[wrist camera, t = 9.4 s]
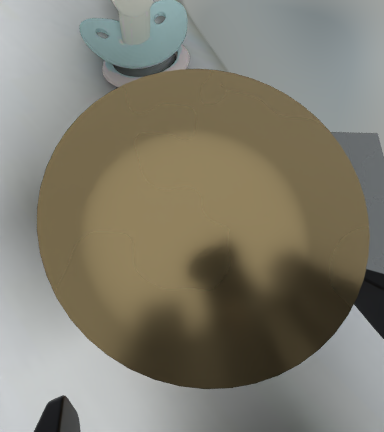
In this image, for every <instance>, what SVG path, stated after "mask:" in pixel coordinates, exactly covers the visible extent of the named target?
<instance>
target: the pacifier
mask: <svg viewBox="0 0 384 432" xmlns="http://www.w3.org/2000/svg"><path fill="white" fill-rule="evenodd" d="M112 2H113V4H114V6H115V7H116V8H117V10H118V13H119V21H116V20H111V19H104V18H92V19H87V20H84V21H83V22H81V24H80V28H79V29H80V33H81V36H82V38H83V40H84V42H85V43H86V44H87V46H88V47H89V48H90V49H91V50H92V51H93V52H94V53H95V54H97V55H98V56H99V57H101V58H102V59H103V60H104V63H103V67H102V71H103V76H104V77H105V78H106V79H107V81H108V82H109V83H111V84H113V85H114V86H116V87H120V86H122V85H124V84H126V83H129V82H131V81H134V80H136V79H139V78H142V77H132V76H127V75H123V74H121V73H119V72H118V71H117V70H116V69H115V65H116V66H120V67H124V68H131V69H140V68H147V67H151V66H155V65H157V64H160V63H162V62H163V61H165V60H167V59H168V58H169V57H171V56H172V55H173V54H175V55H176V57H177V59H176V61H175V62H174V63H173V64H172V65H171V66H170V67H169V68H168V69H166V70H164V71H162V72H166V71H173V70H180V69H186V68H187V66H188V64H189V59H190V56H189V53H188V50H187V49H186V48H185V47H184V45H183V44H182V43H183V41H184V39H185V36H186V31H187V14H186V10H185V9H184V7H183V6H182V5H181V3H179V2H177V1H175V0H161V1H158V2H155V3H153V2H154V0H112ZM158 16H164V17H165V20H164V22H163V23H161V24H156V23H155V22H154V20H155V19H156V18H157V17H158ZM97 32H103V33H105V34H107V35H108V36H109V37H108V38H106V39H104V38H101V37H99V36H98V35H97V34H96V33H97Z"/></svg>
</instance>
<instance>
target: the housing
mask: <svg viewBox="0 0 384 432" xmlns="http://www.w3.org/2000/svg"><path fill="white" fill-rule="evenodd" d="M331 134H332V135H333V136H334V137H335V139H336V140H337V141H338V143H339V144H340V145H341V147H342V149H343V150H344V152H345V153H346V155H347V157H348V158H349V160H350V162H351V164H352V166H353V168H354V170H355V172H356V175H357V177H358V179H359V182H360V185H361V188H362V191H363V194H364V197H365V202H366V207H367V212H368V219H369V233H370V240H369V256H368V261H367V266H366V269H369V270H372V271H376V272H379V273H383V274H384V156H383V153H382V149H381V145H380V141H379V137H378V134H377V133H346V132H343V133H342V132H331Z"/></svg>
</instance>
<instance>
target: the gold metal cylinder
mask: <svg viewBox="0 0 384 432" xmlns="http://www.w3.org/2000/svg"><path fill="white" fill-rule="evenodd" d="M37 234H38V242H39V249H40V255H41V258H42V262H43V265H44V268H45V272H46V275H47V278H48V280H49V282H50V284H51V286H52V289H53V291H54V293H55V295H56V297H57V299H58V301H59V302H60V304H61V305H62V307H63V308H64V310H65V311H66V313H67V315H68V316H69V318H70V319H71V320H72V321H73V323H74V324H75V325H76V326H77V327H78V328H79V329H80V330H81V332H82V333H83V334H84V335H85V336H86V337H87V338H88V339H89V340H90V341H91V342H92V343H94V344H95V345H96V346H97V347H98V348H100V349H101V350H102V351H103V352H104V353H105V354H107V355H108V356H110V357H111V358H113V359H114V360H116V361H118V362H119V363H121V364H123V365H124V366H126V367H127V368H129V369H131V370H133V371H136V372H138V373H140V374H143V375H145V376H147V377H150V378H152V379H155V380H158V381H162V382H166V383H170V384H173V385H177V386H183V387H192V388H201V389H219V388H234V387H239V386H244V385H250V384H255V383H258V382H261V381H264V380H267V379H269V378H272V377H275V376H278V375H280V374H282V373H284V372H286V371H288V370H289V369H291V368H293V367H295V366H297V365H299V364H300V363H302V362H303V361H304V360H306V359H307V358H308V357H310V356H311V355H312V354H314V353H315V352H316V351H318V350H319V349H320V348H321V347H322V346H323V345H324V344H325V343H326V342H327V341H328V340H329V339H330V338H331V337H332V336H333V335H334V334H335V332H336V331H337V330H338V328H339V327H340V325H341V324H342V323H343V321H344V320H345V319H346V317H347V316H348V314H349V312H350V310H351V308H352V306H353V304H354V302H355V300H356V299H357V297H358V294H359V291H360V288H361V285H362V282H363V279H364V277H365V271H366V266H367V261H368V256H369V240H370V233H369V219H368V212H367V207H366V202H365V197H364V194H363V191H362V188H361V185H360V182H359V179H358V177H357V175H356V172H355V170H354V168H353V166H352V164H351V162H350V160H349V158H348V157H347V155H346V153H345V152H344V150H343V149H342V147H341V145H340V144H339V143H338V141H337V140H336V139H335V137H334V136H333V135H332V134H331V132H330V131H329V130H328V129H327V128H326V127H325V126H324V125H323V124H322V123H321V122H320V121H319V119H317V117H315V116H314V115H313V114H312V113H311V112H310V111H308V110H307V109H306V108H305V107H304V106H302V105H301V104H300V103H298V102H297V101H295V100H294V99H292V98H291V97H289V96H288V95H286V94H284V93H283V92H281V91H279V90H277V89H275V88H273V87H271V86H269V85H267V84H264V83H262V82H260V81H257V80H254V79H252V78H249V77H245V76H242V75H238V74H235V73H229V72H224V71H218V70H207V69H180V70H173V71H166V72H160V73H156V74H152V75H148V76H144V77H142V78H139V79H136V80H134V81H131V82H129V83H126V84H124V85H122V86H120V87H118V88H117V89H115V90H113V91H111V92H109V93H108V94H106V95H105V96H103V97H102V98H100V99H99V100H98V101H96V102H95V103H93V104H92V105H91V106H90V107H89V108H88V109H87V110H86V111H84V112H83V113H82V114H81V115H80V116H79V117H78V118H77V119H76V120H75V122H74V123H73V124H72V125H71V126H70V127H69V129H68V130H67V131H66V132H65V134H64V136H63V137H62V139H61V140H60V142H59V143H58V145H57V146H56V148H55V150H54V152H53V154H52V156H51V159H50V161H49V163H48V165H47V167H46V171H45V174H44V177H43V180H42V184H41V187H40V193H39V200H38V206H37Z"/></svg>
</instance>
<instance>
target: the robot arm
mask: <svg viewBox="0 0 384 432" xmlns="http://www.w3.org/2000/svg"><path fill="white" fill-rule="evenodd" d="M354 305H355V306H356V307H357V308H358V310H359V311H360V312H361V313H362V314H363V316H364V317H365V318H366V319H367V320H368V322H369V323H370V324H371V325H372V326H373V328H374V329H375V330H376V331H377V332H378V333H379V334H380V336H381V337H382V338H383V339H384V274H383V273H379V272H376V271H372V270H369V269H366V271H365V277H364V279H363V282H362V285H361V288H360V291H359V294H358V297H357V299H356V300H355V302H354ZM34 432H80V423H79V417H78V414H77V412H76V410H75V408H74V407H73V405H72V404H71V403H70V401H69V400H68V398H67V397H66V396H64V395H63V396H60V397H58V398H55V399H53V400H51V401H49V402H48V404H47V405H46V407H45V409H44V411H43V413H42V416H41V418H40V420H39V422H38V424H37V426H36V428H35V430H34Z"/></svg>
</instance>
